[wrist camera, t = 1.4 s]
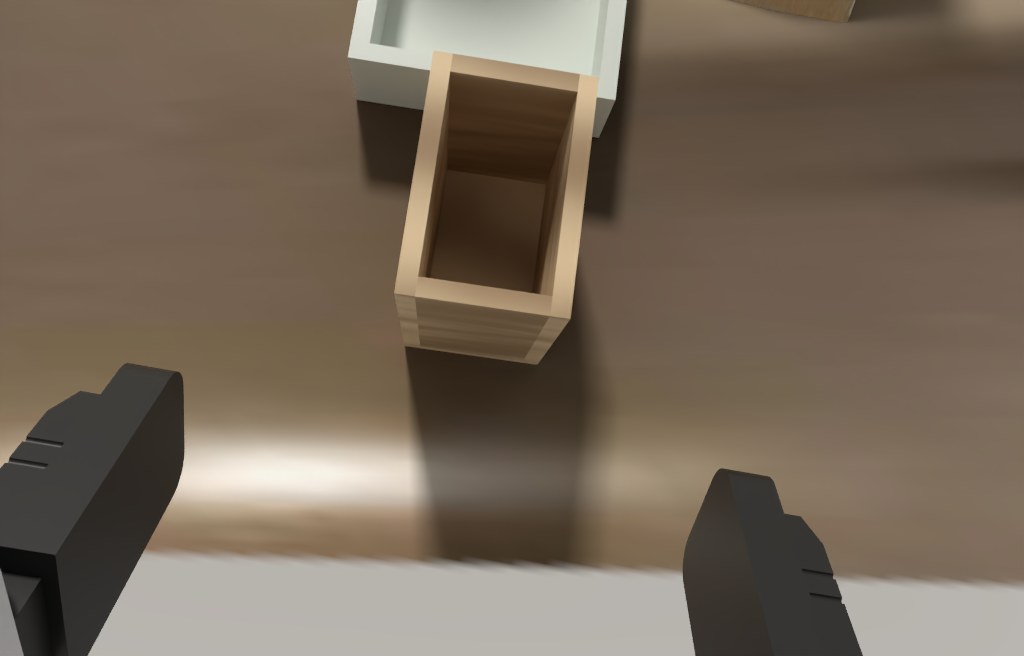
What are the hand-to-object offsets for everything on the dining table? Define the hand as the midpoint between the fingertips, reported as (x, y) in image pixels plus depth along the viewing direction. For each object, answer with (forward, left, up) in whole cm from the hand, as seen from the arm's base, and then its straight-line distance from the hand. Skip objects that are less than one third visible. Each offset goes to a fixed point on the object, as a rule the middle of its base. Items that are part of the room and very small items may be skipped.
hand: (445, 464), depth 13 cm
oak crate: (+6, -8, -25) cm, 27 cm away
